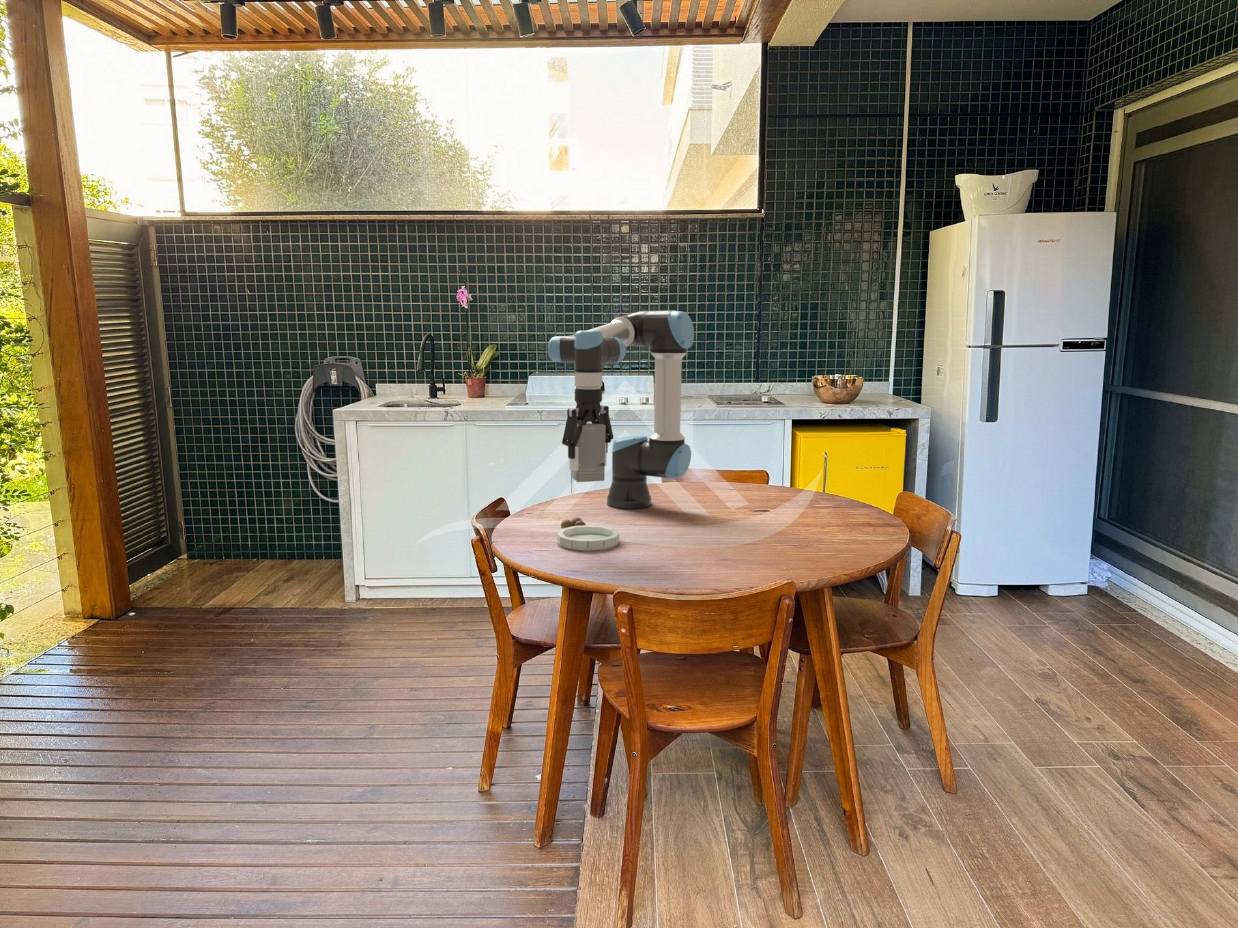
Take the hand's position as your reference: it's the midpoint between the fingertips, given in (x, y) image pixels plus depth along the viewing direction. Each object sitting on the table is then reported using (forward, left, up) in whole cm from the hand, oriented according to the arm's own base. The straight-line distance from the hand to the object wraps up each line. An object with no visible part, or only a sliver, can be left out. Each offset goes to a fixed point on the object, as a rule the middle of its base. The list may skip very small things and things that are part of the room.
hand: (588, 467), depth 231 cm
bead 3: (-6, -10, -21) cm, 24 cm away
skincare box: (0, 0, -4) cm, 4 cm away
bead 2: (-8, -13, -21) cm, 26 cm away
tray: (0, 0, -21) cm, 21 cm away
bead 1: (-4, -13, -21) cm, 25 cm away
